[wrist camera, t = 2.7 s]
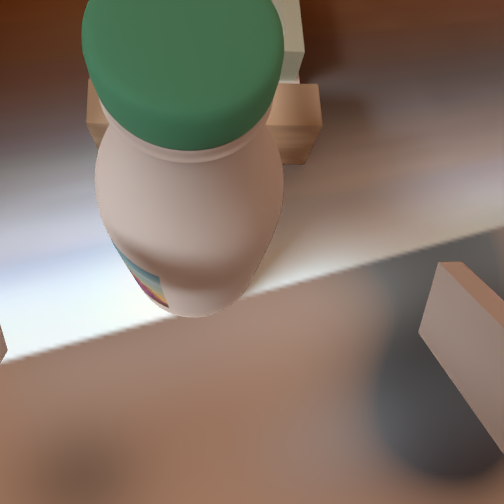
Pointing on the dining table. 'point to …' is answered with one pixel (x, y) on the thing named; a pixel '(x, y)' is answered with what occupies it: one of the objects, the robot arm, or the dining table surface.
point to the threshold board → (279, 121)
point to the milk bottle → (187, 142)
